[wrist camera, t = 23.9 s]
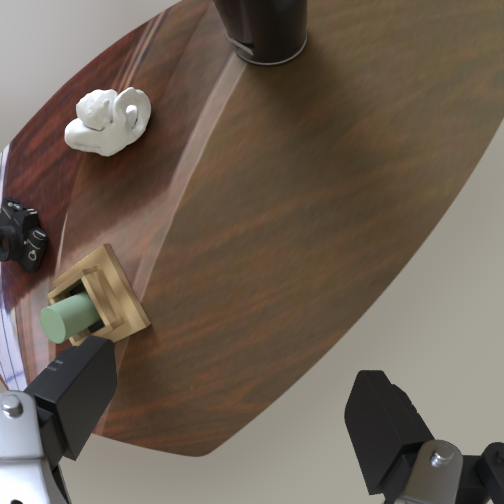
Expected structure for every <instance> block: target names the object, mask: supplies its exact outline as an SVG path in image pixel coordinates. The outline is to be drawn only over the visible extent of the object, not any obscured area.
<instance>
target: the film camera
mask: <svg viewBox="0 0 504 504" xmlns="http://www.w3.org/2000/svg"><path fill="white" fill-rule="evenodd" d="M47 240H48V238H47V236H46V234H45V232H44V231H42V230H41V229H40V228H39V227H38V214H37V212H35V211H34V209H29V210H27V208H26V206H25V205H24V204H23V203H20V201H18V200H15V199H13V198H11V197H7V198H3V202H2V205H1V209H0V261H1V262H6V261H9V260H11V259H12V260H13V261H15V262H17V263H19V264H20V265H21V266H22V268H23V269H24V270H25V271H26V272H27V273H29V274H32V273H35V272H37V271H38V269H39V265H40V261H41V258H42V255H43V252H44V249H45V248H46V246H47V244H46V243H47Z"/></svg>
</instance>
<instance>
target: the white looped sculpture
mask: <svg viewBox="0 0 504 504" xmlns="http://www.w3.org/2000/svg"><path fill="white" fill-rule="evenodd" d="M76 112H77V116H78V118H77V119H76V120H73V121H72V122H70V123H69V124H68V126H67V127H66V129H65V141H66V143H67V144H68V145H69V146H70V147H72V148H73V149H78V150H82V151H87V152H96V153H99V154H100V155H102V156H111V155H113V154H115V153H117V152H118V151H120V150H122V149H123V148H124V147H126V146H127V145H128V144H131V143H133V142H134V141H136V140H137V139H138V138H139V137H140V136H141V135H142V134H143V133H144V131H145V130H146V125H147V123H148V120H149V118H150V114H151V105H150V101H149V99H148V97H147V96H146V95H145V94H144V92H142V91H140V90H135V89H134V88H133V87H131V88H128V89H126V90H125V91H123V92H122V93H121V94H120V95H119V96H118V97H117V93H116V91H114V90H107V91H103V90H95V91H93V92H92V93H90V94H87V95H86V96H85V97H84V98H82V99H81V100H80V102H79V103H78V104H77V105H76ZM136 119H137V122H136ZM135 122H136V123H135ZM134 124H135V126H134ZM132 128H133V129H132Z"/></svg>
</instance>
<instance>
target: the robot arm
mask: <svg viewBox="0 0 504 504" xmlns="http://www.w3.org/2000/svg"><path fill="white" fill-rule="evenodd" d="M213 1H214V4H215V6H216V8H217V10H218V12H219V14H220V17H221V19H222V21H223V23H224V25H225V28H226V30H227V33H228V35H229V37H228V36H227V35H225V34H224V35H225V37H226V39H227V40H229V41H230V42H231V43H232V46H233V48H234V50H235V52H236V53H237V54H238V55H239V56H240V57H241V58H242V59H243V60H245V61H247V62H249V63H251V64H254V65H258V66H278V65H282V64H285V63H287V62H290V61H292V60H293V59H295V58H296V57H297V56H298V55H299V54H300V53H301V52H302V51H303V49H304V48H305V45H306V42H307V30H306V26H307V0H213ZM116 386H117V373H116V364H115V353H114V344H113V341H112V340H110V339H106V338H102V337H98V336H94V335H89V336H88V337H87V338H86V339H85V340H84V341H83V342H82V343H81V344H80V345H79V346H72V347H70V348H68V349H66V350H64V351H62V352H61V353H60V354H59V355H58V356H57V357H56V358H55V359H54V361H52V362H51V363H50V364H49V365H48V366H47V368H45V369H44V370H43V371H42V372H41V373H40V374H39V375H38V376H37V377H36V378H35V379H34V380H33V381H32V383H31V384H30V385H29V386H28V387H27V388H26V389H25V390H24V391H19V390H8V391H5V392H2V393H0V504H72V503H71V500H70V497H69V494H68V491H67V488H66V485H65V482H64V478H63V475H62V471H61V468H60V465H59V461H60V459H61V458H62V456H64V457H67V458H70V459H72V460H74V461H76V459H77V457H78V456H79V454H80V452H81V450H82V448H83V446H84V445H85V443H86V441H87V440H88V438H89V436H90V434H91V433H92V431H93V429H94V428H95V426H96V424H97V422H98V421H99V419H100V417H101V416H102V414H103V412H104V411H105V409H106V407H107V406H108V404H109V402H110V400H111V399H112V397H113V395H114V393H115V390H116ZM344 418H345V424H346V427H347V430H348V432H349V435H350V438H351V441H352V444H353V447H354V450H355V453H356V456H357V459H358V462H359V465H360V468H361V471H362V474H363V477H364V480H365V483H366V486H367V489H368V492H369V495H375V494H381V493H383V494H384V496H385V499H384V500H383V502H382V503H381V504H486V503H487V502H488V501H489V500H490V499H492V501H493V503H494V504H504V443H501V442H495V443H491V444H489V445H488V447H486V449H485V450H484V452H483V453H482V454H481V456H472V455H462V454H461V452H460V450H459V449H458V448H457V447H456V446H454V445H453V444H451V443H449V442H447V441H443V440H435V439H434V437H433V435H432V434H431V432H430V431H429V429H428V427H427V426H426V424H425V423H424V421H423V419H422V418H421V416H420V415H419V413H417V410H416V408H415V407H414V405H412V402H411V401H410V399H409V397H408V396H407V394H406V393H405V392H404V391H402V390H401V389H400V388H399V387H397V386H396V385H395V384H391V383H390V381H389V380H388V378H387V376H386V375H385V374H384V372H383V371H381V370H361V371H359V373H358V374H357V377H356V379H355V382H354V385H353V388H352V391H351V393H350V396H349V399H348V402H347V404H346V408H345V415H344Z"/></svg>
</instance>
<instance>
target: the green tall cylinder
mask: <svg viewBox="0 0 504 504" xmlns="http://www.w3.org/2000/svg"><path fill="white" fill-rule="evenodd" d="M101 319H102V318H101V317H100V315H99V313H98V311H97V309H96V307H95V305H94V303H93V302H92V300H91V298H90V296H89V294H88V292H87V290H86V291H83V292H81V293H79V294H76V295H74V296H71V297H69V298H67V299H64V300H62V301H60V302H57V303H55V304H53V305H50V306H48V307H46V308H44V309H43V310H42V311H41V314H40V324H41V327H42V330H43V332H44V334H45V335H46V336H47V338H48V339H49V340H51V341H52V342H54V343H62V342H64V341H65V340H67V339H69V338H70V337H72V336H74V335H75V334H77V333H79V332H80V331H82V330H84V329H85V328H87V327H89V326H91V325H92V324H94V323H96V322H97V321H99V320H101Z"/></svg>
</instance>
